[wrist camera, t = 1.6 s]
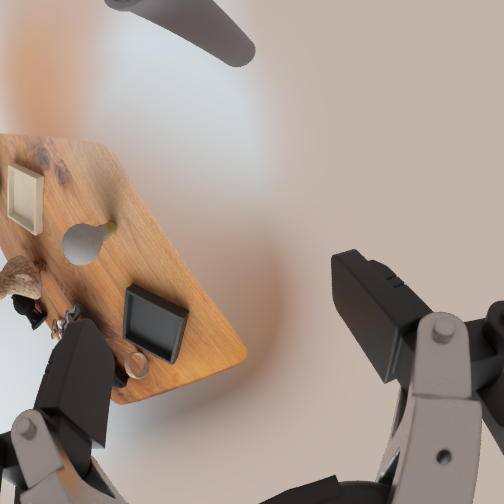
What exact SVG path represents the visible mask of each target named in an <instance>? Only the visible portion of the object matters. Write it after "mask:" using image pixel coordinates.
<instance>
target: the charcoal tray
mask: <svg viewBox="0 0 504 504" xmlns="http://www.w3.org/2000/svg"><path fill="white" fill-rule="evenodd" d="M188 314H189V311H187V310H185V309H183V308H181V307H179V306H177V305H175V304H173V303H171V302H169V301H167V300H165V299H163V298H161V297H159V296H157V295H155V294H153V293H151V292H149V291H147V290H145V289H143V288H141V287H139V286H137V285H135V284H131V285H130V286H129V287H128V288H127V289H126V294H125V306H124V320H123V339H125V340H127V341H128V342H130V343H132V344H134V345H135V346H137V347H139V348H141V349H143V350H144V351H146V352H148V353H150V354H152V355H154V356H156V357H158V358H159V359H161V360H163V361H165V362H167V363H169V364H171V365H173V364H174V363H175V361H176V360H177V358H178V354H179V350H180V346H181V342H182V338H183V334H184V330H185V326H186V322H187V318H188Z"/></svg>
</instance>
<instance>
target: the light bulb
mask: <svg viewBox="0 0 504 504" xmlns="http://www.w3.org/2000/svg"><path fill="white" fill-rule="evenodd" d="M115 232H116V226H115V224H114V223H112V222H108V223H105V224H103V225H100V226H98V227H94V226H91V225H88V224H83V223H82V224H76V225H74V226H72V227H70V228H69V229H68V230H67V232H66V233H65V235H64V237H63V241H62V249H63V252H64V255H65V257H66V258H67V259H68V260H69V261H70V262H71V263H73V264H76V265H87V264H89V263H91V262H92V261H94V260H95V258H96V257H97V256H98V254H99V252H100V249H101V246H102V243H103V242H104V241H105V240H107V239H108V238H109V237H110V236H112V235H114V234H115Z"/></svg>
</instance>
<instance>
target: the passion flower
mask: <svg viewBox="0 0 504 504" xmlns="http://www.w3.org/2000/svg"><path fill="white" fill-rule="evenodd" d="M81 312H82V308H81V306H80V305H79V304H75V307H74V309H73V310H66V315H65V318H64V320H63V321H62V322H61V327H62V329H59V328H58V325H57V321H56V320H54V321H53V327H52V334H51V337H52V339H53V338H55V336H56V335H57V333H58V331H60V335H61V338H60V339H62V337H63V334H64V331H65V329H66V326H67V324H68V323H69V322H72V321H76V320H77V319H78V318H79V317H80V315H81ZM103 338H104V339H105V338H107V337H103Z"/></svg>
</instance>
